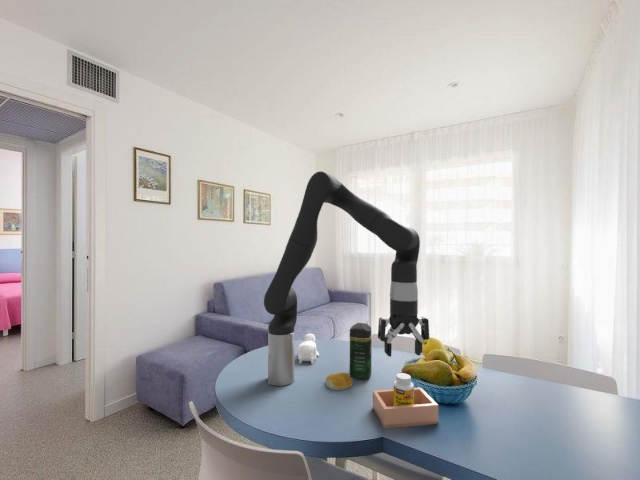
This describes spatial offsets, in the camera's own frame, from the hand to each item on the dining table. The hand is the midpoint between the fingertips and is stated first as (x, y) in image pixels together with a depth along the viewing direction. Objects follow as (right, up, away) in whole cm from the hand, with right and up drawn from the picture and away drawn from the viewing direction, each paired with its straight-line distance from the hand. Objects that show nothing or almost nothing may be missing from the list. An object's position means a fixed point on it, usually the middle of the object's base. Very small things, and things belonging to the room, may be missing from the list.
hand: (403, 355), depth 85 cm
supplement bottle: (0, -16, 0) cm, 16 cm away
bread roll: (-17, -18, +18) cm, 31 cm away
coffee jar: (-8, -18, +26) cm, 32 cm away
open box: (0, -17, 0) cm, 17 cm away
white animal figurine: (-28, -18, +43) cm, 55 cm away
